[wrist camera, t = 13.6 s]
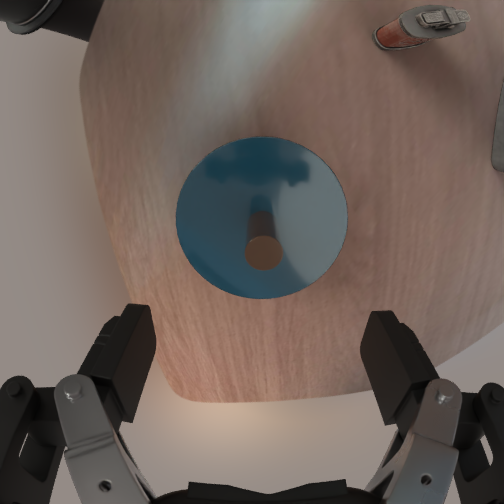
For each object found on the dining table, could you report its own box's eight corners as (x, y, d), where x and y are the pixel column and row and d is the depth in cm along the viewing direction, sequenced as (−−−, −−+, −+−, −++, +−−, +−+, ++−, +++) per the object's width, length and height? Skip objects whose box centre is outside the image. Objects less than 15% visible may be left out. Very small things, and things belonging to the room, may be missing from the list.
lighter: (421, 18, 21) (470, -2, 12) (433, 43, 22) (486, 30, 13) (366, 28, 23) (408, 0, 14) (380, 55, 24) (426, 37, 15)
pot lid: (154, 245, 25) (128, 282, 20) (232, 103, 20) (223, 97, 15) (284, 314, 28) (290, 360, 22) (374, 197, 23) (407, 222, 17)
